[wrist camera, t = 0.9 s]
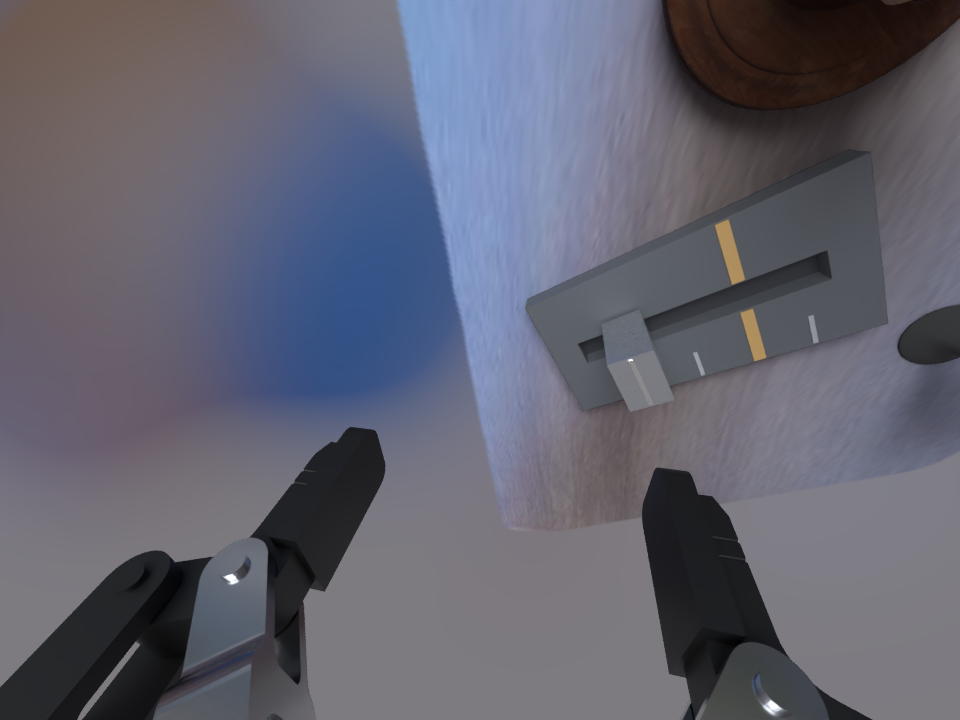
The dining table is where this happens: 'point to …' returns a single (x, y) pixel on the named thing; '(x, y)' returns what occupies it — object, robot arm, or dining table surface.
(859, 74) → the scroll
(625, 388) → the fader tab
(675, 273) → the slider plate with stripes
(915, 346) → the sundae
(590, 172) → the dining table surface
